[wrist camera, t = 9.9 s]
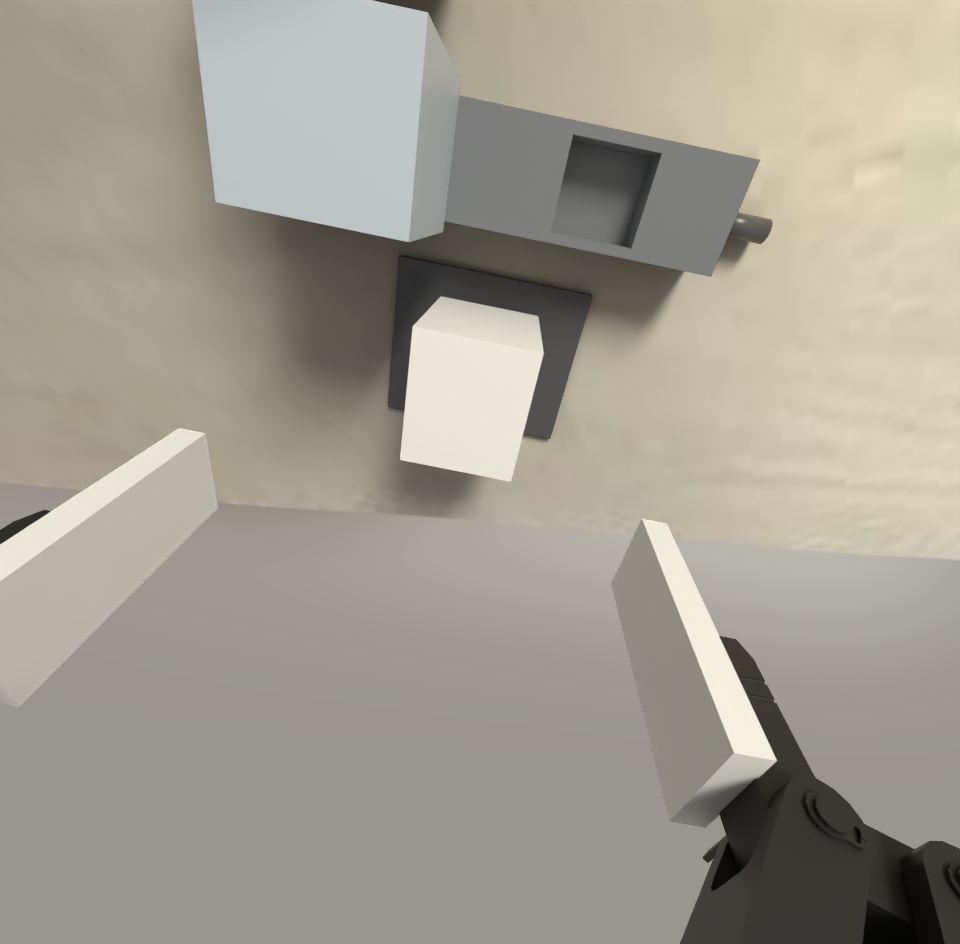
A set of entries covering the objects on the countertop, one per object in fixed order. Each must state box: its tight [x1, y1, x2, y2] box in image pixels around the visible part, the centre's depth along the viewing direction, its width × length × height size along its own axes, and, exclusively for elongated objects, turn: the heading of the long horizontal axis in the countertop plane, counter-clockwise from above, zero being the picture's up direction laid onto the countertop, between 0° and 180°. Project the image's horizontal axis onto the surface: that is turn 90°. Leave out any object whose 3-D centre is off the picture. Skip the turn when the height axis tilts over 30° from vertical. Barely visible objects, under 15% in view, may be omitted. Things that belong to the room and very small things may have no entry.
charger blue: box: [192, 0, 461, 242], centre depth 18 cm, size 7×6×9 cm
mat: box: [388, 256, 592, 439], centre depth 30 cm, size 12×10×1 cm
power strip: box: [445, 96, 772, 277], centre depth 23 cm, size 27×5×4 cm, turn 80°
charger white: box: [400, 296, 544, 482], centre depth 26 cm, size 7×6×9 cm
